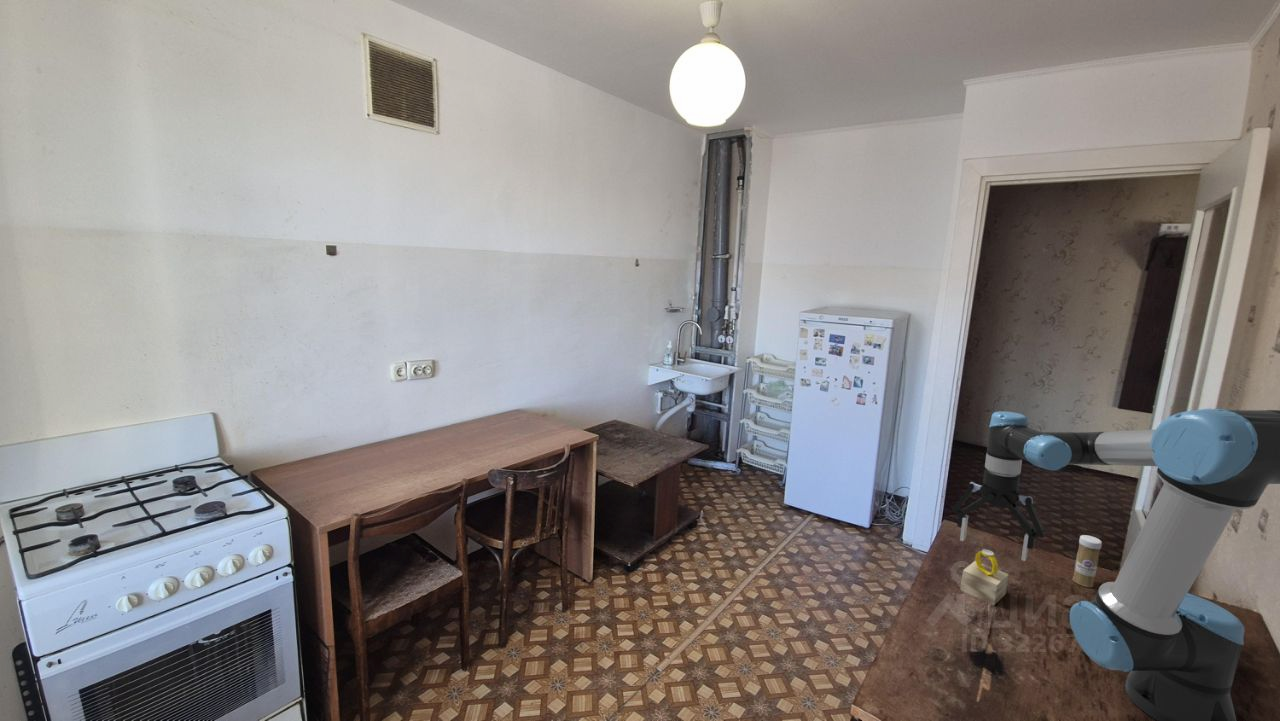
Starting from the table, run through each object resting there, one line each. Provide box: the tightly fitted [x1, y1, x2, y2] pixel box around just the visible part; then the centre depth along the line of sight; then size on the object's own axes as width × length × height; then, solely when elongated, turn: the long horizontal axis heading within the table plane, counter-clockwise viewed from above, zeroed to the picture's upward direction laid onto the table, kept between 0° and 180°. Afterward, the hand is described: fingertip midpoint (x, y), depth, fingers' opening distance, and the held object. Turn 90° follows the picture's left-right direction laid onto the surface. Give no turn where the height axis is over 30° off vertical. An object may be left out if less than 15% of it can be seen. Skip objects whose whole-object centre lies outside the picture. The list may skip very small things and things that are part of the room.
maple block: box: [959, 560, 1010, 606], centre depth 138 cm, size 8×8×6 cm
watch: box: [974, 548, 999, 575], centre depth 137 cm, size 6×3×6 cm, turn 10°
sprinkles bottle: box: [1072, 534, 1103, 588], centre depth 141 cm, size 5×5×13 cm
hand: (992, 548), depth 135 cm, fingers open, 13 cm apart
